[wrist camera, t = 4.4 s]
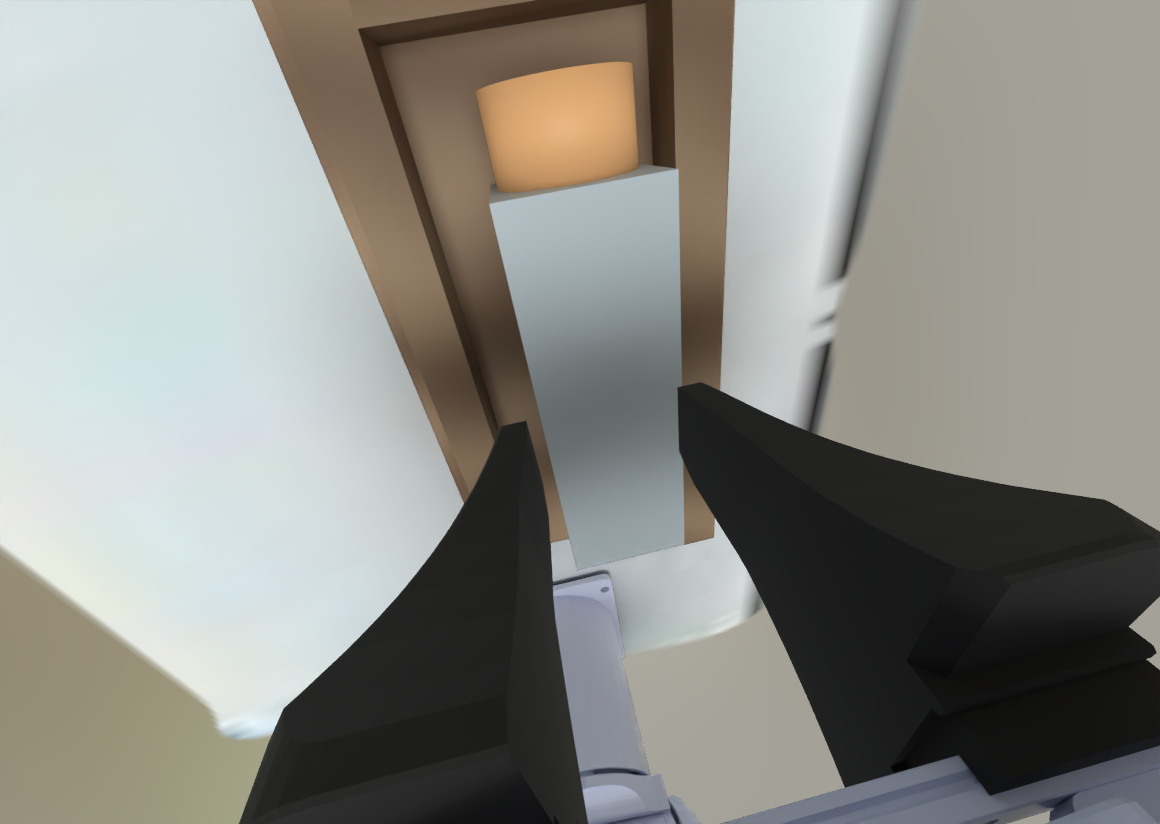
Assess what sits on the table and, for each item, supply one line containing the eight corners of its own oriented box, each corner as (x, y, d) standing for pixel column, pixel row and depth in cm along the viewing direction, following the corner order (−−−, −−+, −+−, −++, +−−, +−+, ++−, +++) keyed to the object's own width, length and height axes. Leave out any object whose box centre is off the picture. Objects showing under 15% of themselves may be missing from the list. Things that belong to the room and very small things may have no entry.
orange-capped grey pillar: (644, 459, 20) (684, 544, 15) (559, 478, 19) (577, 570, 15) (612, 79, 12) (676, 44, 8) (471, 103, 12) (458, 80, 8)
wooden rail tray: (707, 490, 23) (733, 532, 20) (487, 542, 22) (486, 593, 20) (720, -77, 11) (784, -139, 9) (263, -8, 11) (192, -54, 8)
